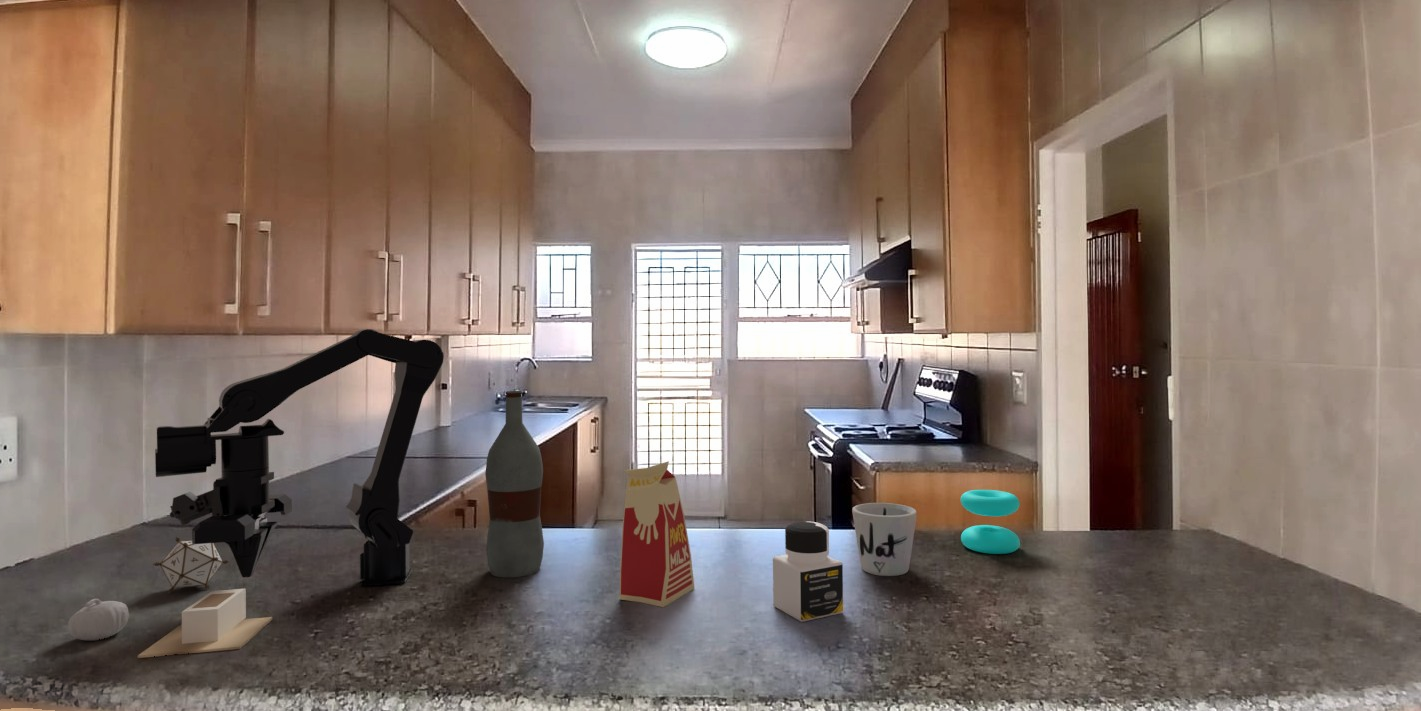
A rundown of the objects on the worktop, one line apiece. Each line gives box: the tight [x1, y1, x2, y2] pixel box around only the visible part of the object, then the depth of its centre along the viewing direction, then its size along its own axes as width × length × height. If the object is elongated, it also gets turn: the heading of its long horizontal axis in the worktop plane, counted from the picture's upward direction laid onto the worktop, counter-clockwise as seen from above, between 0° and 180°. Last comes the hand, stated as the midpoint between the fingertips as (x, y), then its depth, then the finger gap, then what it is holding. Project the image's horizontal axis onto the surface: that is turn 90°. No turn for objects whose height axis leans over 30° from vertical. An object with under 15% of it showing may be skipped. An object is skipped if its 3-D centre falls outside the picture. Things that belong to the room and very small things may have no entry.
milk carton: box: [618, 461, 695, 608], centre depth 105 cm, size 9×9×20 cm
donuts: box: [960, 489, 1021, 555], centre depth 127 cm, size 10×10×10 cm
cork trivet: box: [137, 616, 273, 659], centre depth 90 cm, size 11×10×1 cm
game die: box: [152, 536, 230, 594], centre depth 109 cm, size 9×8×10 cm
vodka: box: [484, 390, 545, 579], centre depth 117 cm, size 9×9×30 cm
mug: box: [851, 502, 918, 577], centre depth 117 cm, size 10×15×10 cm
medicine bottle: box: [772, 520, 844, 623], centre depth 97 cm, size 7×7×12 cm
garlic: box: [67, 598, 130, 641], centre depth 90 cm, size 6×5×5 cm
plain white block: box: [181, 588, 247, 644], centre depth 92 cm, size 4×4×8 cm
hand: (247, 576), depth 101 cm, fingers closed
